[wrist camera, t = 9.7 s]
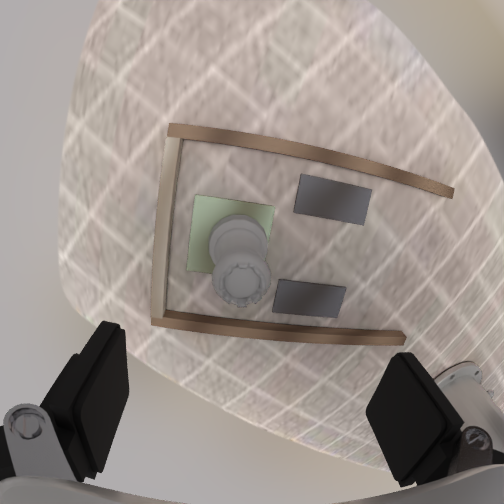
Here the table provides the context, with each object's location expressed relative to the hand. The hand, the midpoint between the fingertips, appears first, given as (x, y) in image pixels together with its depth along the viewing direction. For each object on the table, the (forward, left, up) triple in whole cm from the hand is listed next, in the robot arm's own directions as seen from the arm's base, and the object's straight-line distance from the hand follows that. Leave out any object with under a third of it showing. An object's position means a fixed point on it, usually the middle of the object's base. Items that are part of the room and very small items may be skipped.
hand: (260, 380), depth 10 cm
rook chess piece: (0, 0, -15) cm, 15 cm away
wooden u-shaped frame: (-6, 0, -15) cm, 16 cm away
